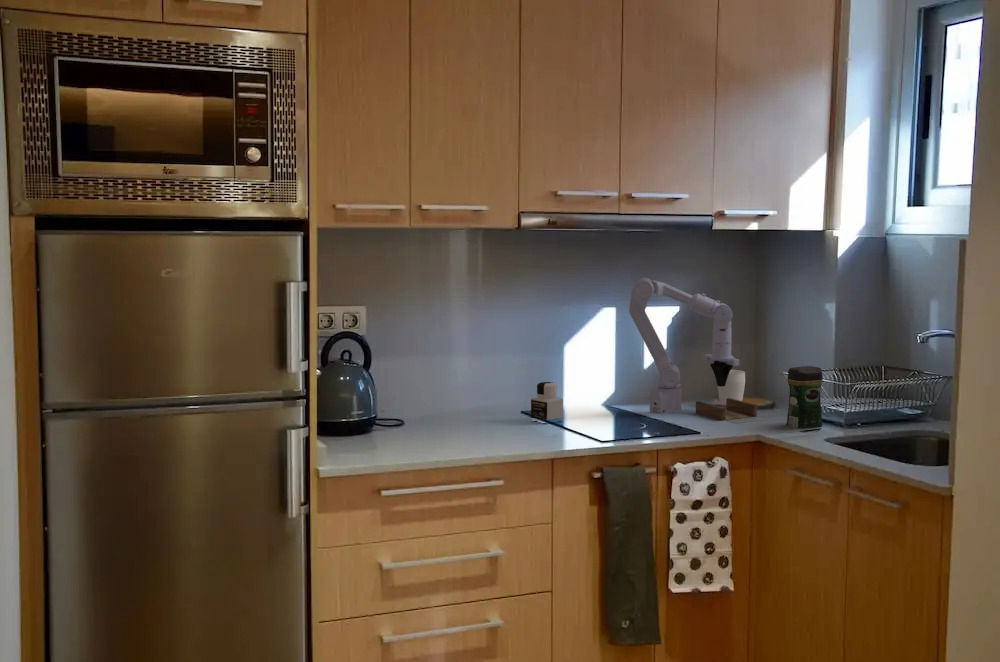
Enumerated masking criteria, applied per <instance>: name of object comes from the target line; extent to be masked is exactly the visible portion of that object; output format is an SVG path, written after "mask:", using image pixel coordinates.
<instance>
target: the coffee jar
mask: <svg viewBox="0 0 1000 662" xmlns="http://www.w3.org/2000/svg"><path fill="white" fill-rule="evenodd" d="M786 381H787V383H788V388H789V398H788V409H787V417H786V426H788V427H790V428H794V429H801V430H799V433H800V432H801V433H802V432H803V433H808V432H815V431H816V432H817V431H821V430H822V427H823V416H822V402H821V400H822V399H821V390H822V389H821V388H822V385H823V381H824V379H823V371H822V369H821V367H818V366H814V365H809V366H808V365H805V366H796V367H795V366H794V367H789V369H788V370H787V380H786ZM802 429H803V430H802ZM804 429H805V430H804Z"/></svg>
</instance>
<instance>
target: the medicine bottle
mask: <svg viewBox="0 0 1000 662" xmlns="http://www.w3.org/2000/svg"><path fill="white" fill-rule="evenodd" d="M557 389H558V385H557V384H556V383H555V382H552V381H541V382H539V383H537V385H536V396H537V397H531V398H530V419H531V418H537V419H544V420H549V419H555V418H562V417H563V418H564V399H563V398H561V397H557V393H558V392H557V391H558V390H557Z"/></svg>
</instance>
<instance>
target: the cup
mask: <svg viewBox="0 0 1000 662" xmlns="http://www.w3.org/2000/svg"><path fill="white" fill-rule="evenodd" d="M745 385H746V371H744V370H740V369H739V370H738V369H731V370H730V372H729V375H728V377H727V381H726V385H725V386H721V387H720V386H717V391H718V392H717V393H718V401H719V405H720V406H724V407H725V406H726V401H727V398H732V399H736V400H740V401H743V398H744V393H745Z"/></svg>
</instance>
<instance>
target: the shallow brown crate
mask: <svg viewBox="0 0 1000 662" xmlns="http://www.w3.org/2000/svg"><path fill="white" fill-rule="evenodd" d="M695 414H697V415H699V416H704V417H707V418H711V419H715V420H719V421H724V422H726V421H725V420H734V419H743V418H751V417H757V418H758V404H756V403H752V402H748V401H745V400H744V401H743V400H742V401H740V400H736V399H732V398H727V401H726V407H725V406H724V407H723V406H721V405H720V406H718V405H716V404H715V405H714V404H711V403H709V402H704V401H698V400H697V401H695Z"/></svg>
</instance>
